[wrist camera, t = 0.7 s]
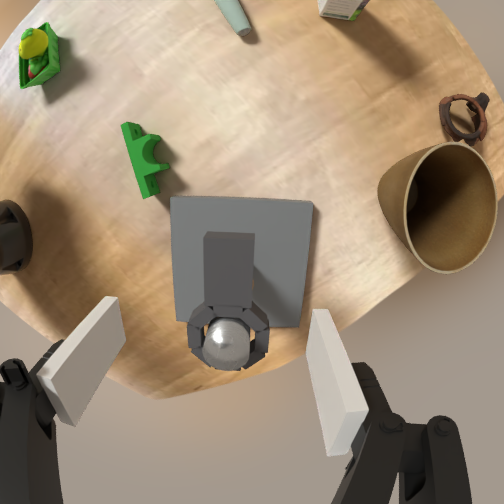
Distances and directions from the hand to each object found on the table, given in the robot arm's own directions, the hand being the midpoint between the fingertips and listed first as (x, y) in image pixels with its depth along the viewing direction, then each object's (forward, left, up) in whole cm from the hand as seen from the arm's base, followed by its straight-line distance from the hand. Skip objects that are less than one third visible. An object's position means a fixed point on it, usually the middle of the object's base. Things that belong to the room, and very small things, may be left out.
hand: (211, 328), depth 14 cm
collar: (0, -5, -12) cm, 13 cm away
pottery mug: (+36, +20, -30) cm, 51 cm away
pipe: (0, -8, -28) cm, 29 cm away
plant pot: (+24, +5, -30) cm, 39 cm away
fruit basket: (-36, +29, -30) cm, 55 cm away
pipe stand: (0, -8, -30) cm, 31 cm away
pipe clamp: (-13, +8, -30) cm, 34 cm away
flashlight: (-4, +36, -30) cm, 47 cm away
